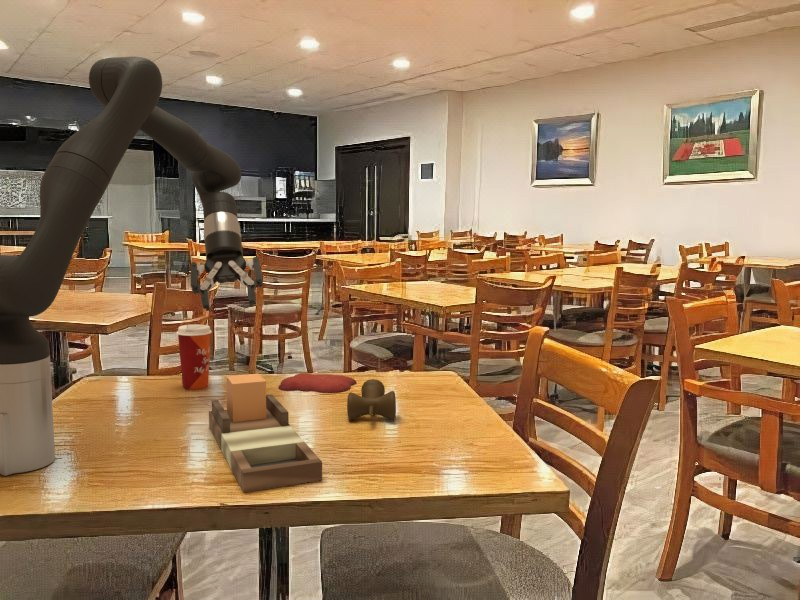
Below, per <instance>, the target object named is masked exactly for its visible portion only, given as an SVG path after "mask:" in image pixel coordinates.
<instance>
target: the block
mask: <svg viewBox="0 0 800 600" xmlns="http://www.w3.org/2000/svg"><path fill="white" fill-rule="evenodd" d="M225 378H226V410H227V413H228V415H229V417H230V418H231V420H232V421H233V422H239V421H248V420H257V419H266V395H267V381H266V380H265V379H264V377H263V376H261V375H260V373H249V374H239V375H226V377H225Z"/></svg>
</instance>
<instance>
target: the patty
mask: <svg viewBox="0 0 800 600" xmlns="http://www.w3.org/2000/svg"><path fill="white" fill-rule="evenodd" d="M357 383H358V382H357V381H356V379H355V378H352V377H348V376H346V375H341V374H328V373H327V374H319V373H317V374H316V373H314V374H311V373H309V372H301V373H296V374H294V375H292V376H288V377H286V378H284V379H283V380H281V381H280V384H279V385H278V386H277V387H278V389H279V390H280V391H284V392H297V391H299V392H314V393H321V394H341V393H344V392H347V391H349V390H351V387H352V386H355V385H356V384H357Z"/></svg>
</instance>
